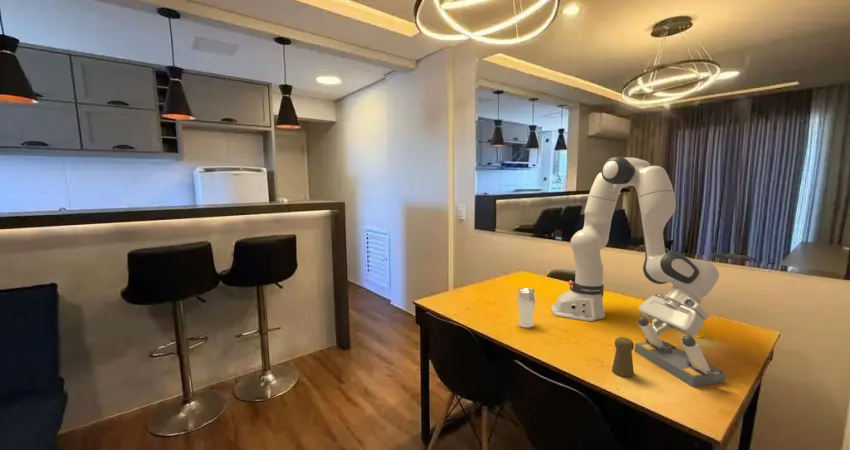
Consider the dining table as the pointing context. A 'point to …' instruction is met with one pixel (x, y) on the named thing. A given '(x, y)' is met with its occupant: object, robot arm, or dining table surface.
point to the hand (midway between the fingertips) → (653, 332)
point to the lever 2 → (695, 354)
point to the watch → (702, 333)
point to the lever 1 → (650, 333)
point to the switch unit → (678, 364)
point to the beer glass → (526, 307)
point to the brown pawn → (623, 358)
